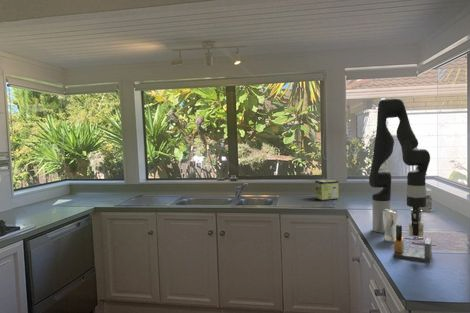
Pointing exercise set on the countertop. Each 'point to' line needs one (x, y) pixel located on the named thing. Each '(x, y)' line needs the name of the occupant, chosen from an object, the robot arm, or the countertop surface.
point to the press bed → (416, 253)
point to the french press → (427, 208)
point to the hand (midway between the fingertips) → (416, 233)
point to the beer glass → (390, 224)
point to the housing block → (419, 229)
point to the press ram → (399, 240)
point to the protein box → (326, 190)
